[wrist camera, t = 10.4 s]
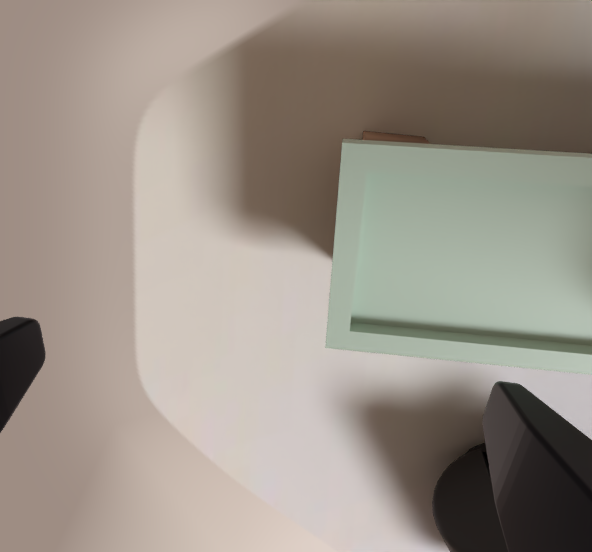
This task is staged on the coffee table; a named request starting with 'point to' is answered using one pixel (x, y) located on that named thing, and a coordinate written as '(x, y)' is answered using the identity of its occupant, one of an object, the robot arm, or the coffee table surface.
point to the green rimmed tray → (463, 255)
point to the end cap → (468, 505)
